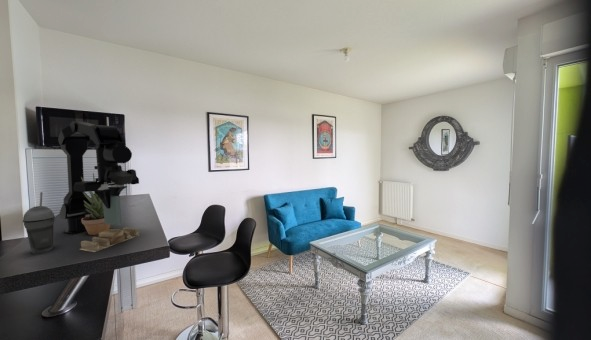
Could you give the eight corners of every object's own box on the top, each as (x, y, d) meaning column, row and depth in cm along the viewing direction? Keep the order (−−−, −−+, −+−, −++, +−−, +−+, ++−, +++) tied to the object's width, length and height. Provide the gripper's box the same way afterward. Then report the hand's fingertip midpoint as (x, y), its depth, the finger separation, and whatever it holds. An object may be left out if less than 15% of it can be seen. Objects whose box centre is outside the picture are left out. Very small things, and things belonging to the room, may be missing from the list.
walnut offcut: (111, 245, 84) (110, 239, 84) (98, 243, 86) (97, 238, 86) (125, 239, 89) (124, 234, 89) (112, 238, 91) (112, 233, 91)
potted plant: (76, 238, 94) (70, 173, 92) (99, 230, 104) (95, 170, 101) (98, 240, 92) (93, 173, 90) (120, 231, 102) (116, 170, 100)
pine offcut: (112, 239, 85) (111, 234, 85) (99, 238, 86) (98, 233, 86) (123, 234, 89) (123, 229, 89) (110, 233, 90) (110, 229, 90)
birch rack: (95, 255, 79) (94, 244, 79) (79, 252, 81) (78, 242, 81) (140, 237, 94) (139, 228, 94) (126, 236, 96) (125, 226, 96)
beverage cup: (35, 251, 83) (28, 191, 81) (63, 248, 85) (57, 189, 83) (20, 260, 76) (13, 195, 74) (51, 256, 79) (44, 193, 77)
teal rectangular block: (117, 225, 86) (115, 196, 85) (104, 224, 88) (102, 195, 87) (121, 224, 87) (119, 195, 86) (108, 223, 89) (106, 195, 88)
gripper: (96, 164, 74) (100, 216, 76) (149, 161, 92) (152, 203, 94) (69, 164, 78) (74, 214, 79) (126, 161, 95) (129, 201, 97)
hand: (111, 207), depth 87 cm, fingers closed on teal rectangular block, 1 cm apart
